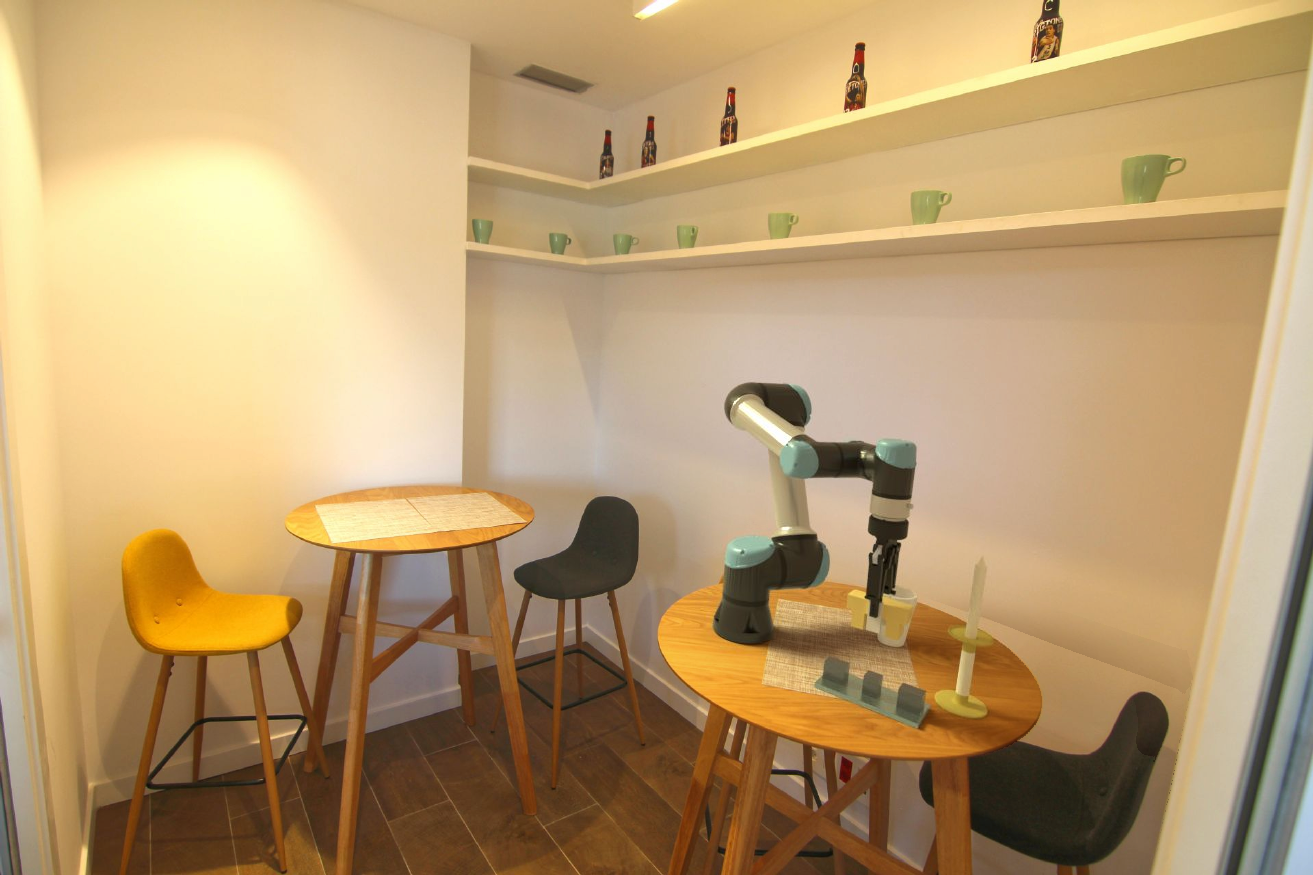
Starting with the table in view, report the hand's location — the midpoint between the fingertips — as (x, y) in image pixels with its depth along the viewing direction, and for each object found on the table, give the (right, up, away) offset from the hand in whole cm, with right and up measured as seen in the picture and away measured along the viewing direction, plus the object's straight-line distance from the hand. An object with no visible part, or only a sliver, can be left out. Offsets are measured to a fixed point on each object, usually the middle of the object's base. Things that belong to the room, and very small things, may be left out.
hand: (876, 627), depth 126 cm
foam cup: (+14, -12, +28) cm, 34 cm away
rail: (-1, -15, +2) cm, 15 cm away
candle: (+18, -17, +1) cm, 24 cm away
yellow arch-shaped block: (0, -1, 0) cm, 1 cm away
